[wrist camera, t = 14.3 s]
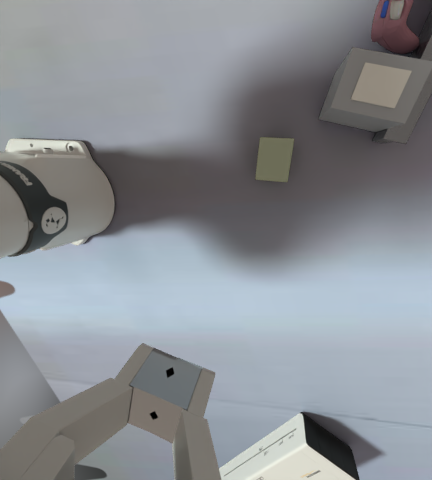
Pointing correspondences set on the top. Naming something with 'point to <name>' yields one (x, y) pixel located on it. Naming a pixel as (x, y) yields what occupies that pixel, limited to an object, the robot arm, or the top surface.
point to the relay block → (274, 159)
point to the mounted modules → (374, 90)
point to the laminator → (294, 455)
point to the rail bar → (427, 50)
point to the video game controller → (394, 26)
